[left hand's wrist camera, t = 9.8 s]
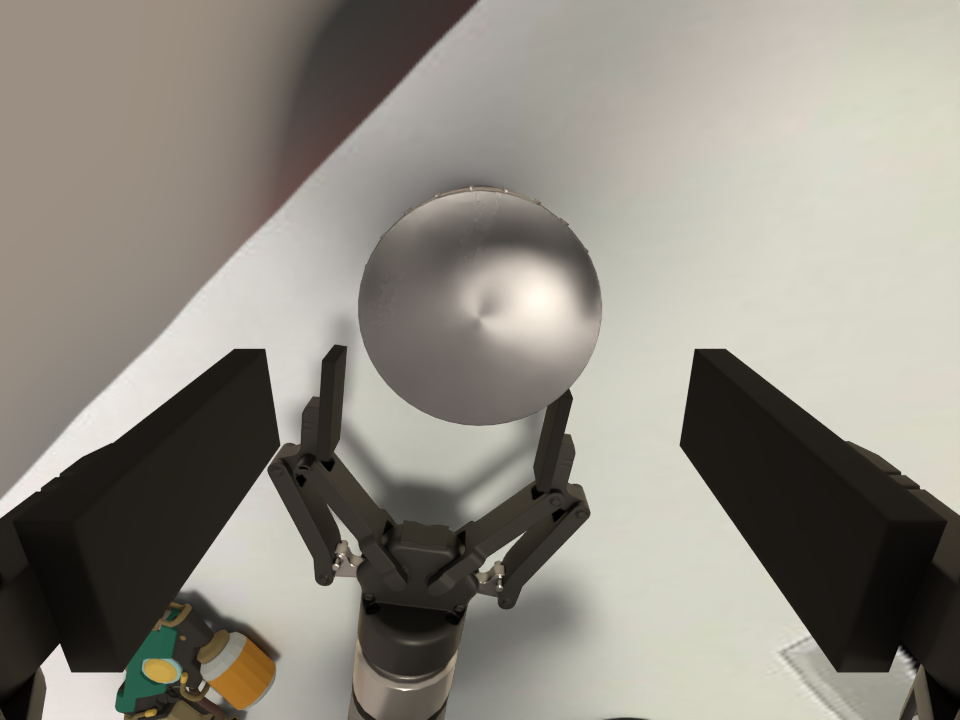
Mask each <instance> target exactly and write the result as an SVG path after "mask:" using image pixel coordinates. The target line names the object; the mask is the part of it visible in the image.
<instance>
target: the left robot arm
mask: <svg viewBox="0 0 960 720" xmlns="http://www.w3.org/2000/svg"><path fill="white" fill-rule="evenodd" d="M279 447H280V440H279V434H278V427H277V421H276V414H275V408H274V402H273V395H272V389H271V383H270V376H269V370H268V364H267V357H266V351H265V349H234V350H232V351H231V352H230V353H229V354H227V355H226V356H225V357H223V358H222V359H221V360H219V361H218V362H217V363H216V364H214V365H213V366H212V367H210V368H209V369H208V370H207V371H205V372H204V373H203V374H201V375H200V376H199V377H198V378H196V379H195V380H194V381H192V382H191V383H190V384H189V385H187V386H186V387H185V388H183V389H182V390H181V391H180V392H178V393H177V394H176V395H174V396H173V397H172V398H170V399H169V400H168V401H167V402H165V403H164V404H163V405H161V406H160V407H159V408H158V409H156V410H155V411H154V412H152V413H151V414H150V415H149V416H147V417H146V418H145V419H143V420H142V421H141V422H140V423H138V424H137V425H136V426H134V427H133V428H132V429H131V430H129V431H128V432H127V433H125V434H124V435H123V436H121V437H120V438H119V439H118V440H116V441H115V442H114V443H111V444H108V445H106V446H104V447H102V448H100V449H98V450H96V451H94V452H92V453H90V454H88V455H86V456H83V457H82V458H80V459H79V460H78V461H76V462H75V463H74V464H72V465H71V466H70V467H68V468H67V469H66V470H64V471H63V472H62V473H60V476H59V477H55V478H54V479H52V480H51V481H50V482H48V483H47V484H46V485H44V486H43V487H42V488H41V491H40V492H35V493H34V494H32V495H31V496H30V497H28V498H27V499H26V500H24V501H23V502H22V503H20V504H19V505H18V506H16V507H15V508H14V509H12V510H11V511H10V512H8V513H7V514H6V515H4V516H3V517H2V518H0V720H41V719H42V713H43V707H44V701H45V694H46V683H45V677H44V675H43V672H42V670H41V668H40V666H41V664H42V663H43V662H44V661H45V660H46V659H47V657H48V656H49V655H50V654H51V653H52V652H53V651H54V649H55V648H56V647H57V646H58V645H59V644H61V647H62V650H63V652H64V655H65V657H66V660H67V662H68V665H69V667H70V670H71V672H123V671H124V670H125V668H126V667H127V665H128V664H129V662H130V661H131V660H132V658H133V657H134V655H135V654H136V652H137V651H138V649H139V648H140V647H141V645H142V644H143V642H144V641H145V639H146V638H147V637H148V635H149V634H150V632H151V631H152V629H153V628H154V626H155V625H156V624H157V622H158V621H159V619H160V618H161V616H162V615H163V614H164V612H165V611H166V609H167V608H168V606H169V605H170V603H171V602H172V601H173V599H174V598H175V596H176V595H177V593H178V592H179V591H180V589H181V588H182V586H183V585H184V583H185V582H186V580H187V579H188V578H189V576H190V575H191V573H192V572H193V570H194V569H195V568H196V566H197V565H198V563H199V562H200V560H201V559H202V557H203V556H204V555H205V553H206V552H207V550H208V549H209V547H210V546H211V545H212V543H213V542H214V540H215V539H216V537H217V536H218V534H219V533H220V532H221V530H222V529H223V527H224V526H225V524H226V523H227V522H228V520H229V519H230V517H231V516H232V514H233V513H234V511H235V510H236V509H237V507H238V506H239V504H240V503H241V501H242V500H243V499H244V497H245V496H246V494H247V493H248V491H249V490H250V488H251V487H252V486H253V484H254V483H255V481H256V480H257V478H258V477H259V476H260V474H261V473H262V471H263V470H264V468H265V467H266V465H267V464H268V463H269V461H270V460H271V458H272V457H273V455H274V454H275V452H276V451H277V450H278V448H279ZM680 447H681V448H682V450H683V451H684V452H685V454H686V455H687V457H688V458H689V460H690V461H691V463H692V464H693V465H694V467H695V468H696V470H697V471H698V473H699V474H700V476H701V477H702V478H703V480H704V481H705V483H706V484H707V486H708V487H709V488H710V490H711V491H712V493H713V494H714V496H715V497H716V499H717V500H718V501H719V503H720V504H721V506H722V507H723V509H724V510H725V511H726V513H727V514H728V516H729V517H730V519H731V520H732V522H733V523H734V524H735V526H736V527H737V529H738V530H739V532H740V533H741V534H742V536H743V537H744V539H745V540H746V542H747V543H748V545H749V546H750V547H751V549H752V550H753V552H754V553H755V555H756V556H757V557H758V559H759V560H760V562H761V563H762V565H763V566H764V568H765V569H766V570H767V572H768V573H769V575H770V576H771V578H772V579H773V580H774V582H775V583H776V585H777V586H778V588H779V589H780V591H781V592H782V593H783V595H784V596H785V598H786V599H787V601H788V602H789V603H790V605H791V606H792V608H793V609H794V611H795V612H796V614H797V615H798V616H799V618H800V619H801V621H802V622H803V624H804V625H805V626H806V628H807V629H808V631H809V632H810V634H811V635H812V637H813V638H814V639H815V641H816V642H817V644H818V645H819V647H820V648H821V649H822V651H823V652H824V654H825V655H826V657H827V658H828V660H829V661H830V662H831V664H832V665H833V667H834V668H835V670H836V671H837V672H889V670H890V667H891V665H892V662H893V660H894V657H895V655H896V652H897V650H898V647H899V644H900V642H902V643H903V644H904V645H905V646H906V647H907V649H908V650H909V651H910V652H911V653H912V654H913V655H914V657H915V658H916V659H917V660H918V661H919V662H920V664H921V665H920V668H919V670H918V672H917V675H916V677H915V680H914V682H913V684H912V687H911V689H910V691H909V694H908V696H907V699H906V701H905V703H904V706H903V708H902V710H901V713H900V718H899V720H912V718H913V716H915V715H918V717H919V720H960V515H958V514H957V513H956V512H954V511H953V510H951V509H950V508H949V507H947V506H946V505H945V504H943V503H942V502H941V501H939V500H938V499H937V498H935V497H934V496H933V495H931V494H930V493H929V492H927V491H926V490H921V489H920V486H919V485H918V484H917V483H915V482H914V481H913V480H911V479H910V478H909V477H907V476H906V475H901V472H900V471H899V470H898V469H896V468H895V467H894V466H892V465H891V464H890V463H888V462H887V461H886V460H884V459H883V458H882V457H880V456H879V455H877V454H875V453H873V452H871V451H869V450H867V449H864V448H862V447H860V446H858V445H856V444H854V443H852V442H850V441H844V440H842V439H841V438H840V437H839V436H837V435H836V434H835V433H833V432H832V431H831V430H829V429H828V428H827V427H826V426H824V425H823V424H822V423H820V422H819V421H818V420H817V419H815V418H814V417H813V416H811V415H810V414H809V413H808V412H806V411H805V410H804V409H802V408H801V407H800V406H799V405H797V404H796V403H795V402H793V401H792V400H791V399H790V398H788V397H787V396H786V395H784V394H783V393H782V392H780V391H779V390H778V389H777V388H775V387H774V386H773V385H771V384H770V383H769V382H768V381H766V380H765V379H764V378H762V377H761V376H760V375H759V374H757V373H756V372H755V371H753V370H752V369H751V368H750V367H748V366H747V365H746V364H744V363H743V362H742V361H741V360H739V359H738V358H737V357H735V356H734V355H733V354H731V353H730V352H729V351H728V350H726V349H695V351H694V357H693V364H692V370H691V376H690V383H689V389H688V395H687V402H686V408H685V414H684V421H683V427H682V434H681V440H680Z"/></svg>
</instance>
